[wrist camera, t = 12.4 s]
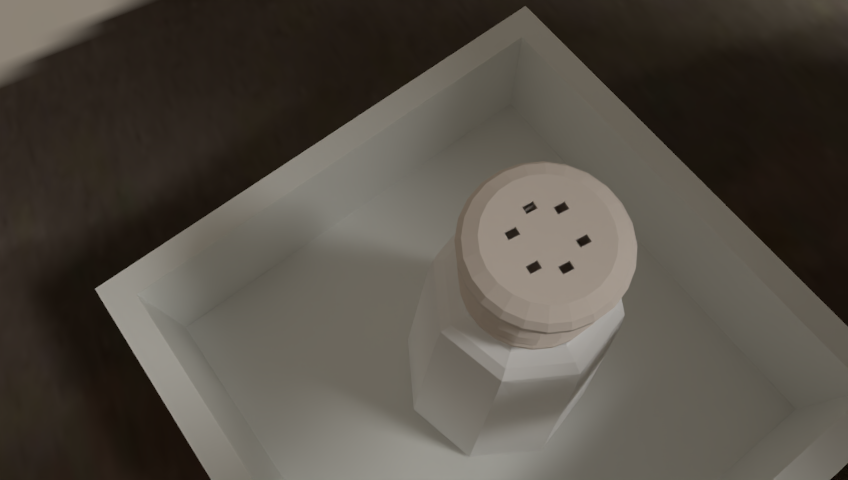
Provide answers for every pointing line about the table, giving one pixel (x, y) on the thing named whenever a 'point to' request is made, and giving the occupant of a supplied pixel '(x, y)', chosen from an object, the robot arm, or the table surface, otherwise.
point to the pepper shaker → (520, 307)
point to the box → (404, 279)
